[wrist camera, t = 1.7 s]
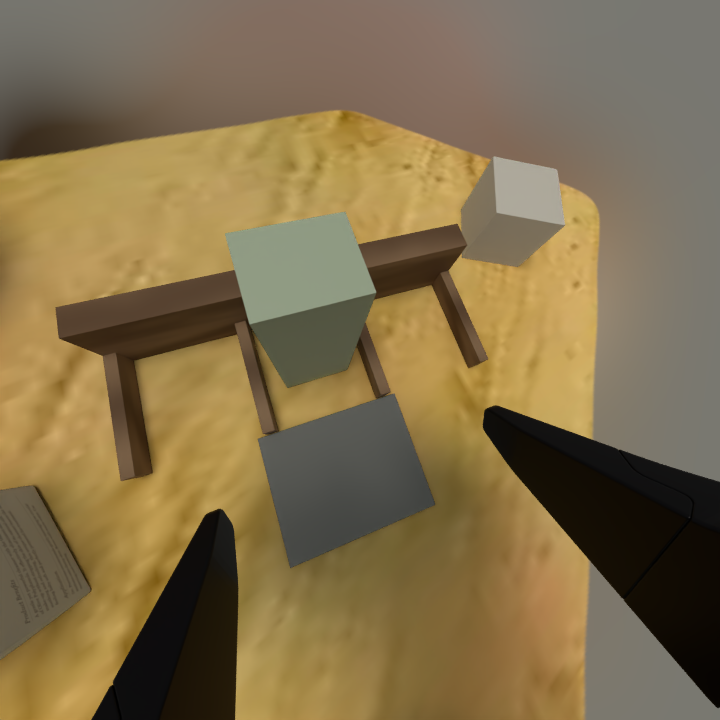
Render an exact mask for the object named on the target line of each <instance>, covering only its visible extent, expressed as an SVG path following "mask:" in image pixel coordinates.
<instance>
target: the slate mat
mask: <svg viewBox="0 0 720 720" xmlns="http://www.w3.org/2000/svg"><path fill="white" fill-rule="evenodd" d="M258 442H259V446H260V450H261V454H262V458H263V462H264V465H265V469H266V473H267V477H268V481H269V485H270V489H271V493H272V497H273V501H274V505H275V509H276V513H277V517H278V521H279V525H280V529H281V533H282V537H283V541H284V545H285V549H286V553H287V557H288V561H289V565H290V568H292V567H294V566H296V565H298V564H301V563H303V562H305V561H308V560H310V559H312V558H314V557H317V556H319V555H321V554H324V553H326V552H328V551H330V550H333V549H335V548H337V547H340V546H342V545H344V544H346V543H349V542H351V541H353V540H356V539H358V538H360V537H362V536H365V535H367V534H369V533H372V532H374V531H376V530H378V529H381V528H383V527H385V526H388V525H390V524H392V523H394V522H397V521H399V520H401V519H404V518H406V517H408V516H410V515H413V514H415V513H417V512H420V511H422V510H424V509H426V508H429V507H431V506H433V505H435V502H434V499H433V497H432V494H431V491H430V489H429V486H428V483H427V480H426V478H425V475H424V472H423V470H422V467H421V464H420V462H419V459H418V456H417V453H416V451H415V448H414V445H413V443H412V440H411V437H410V434H409V432H408V429H407V426H406V424H405V421H404V418H403V415H402V413H401V410H400V407H399V405H398V402H397V399H396V397H395V394H391V395H388V396H385V397H382V398H379V399H376V400H373V401H370V402H367V403H364V404H361V405H358V406H355V407H352V408H349V409H346V410H343V411H340V412H337V413H334V414H331V415H328V416H325V417H322V418H319V419H316V420H313V421H310V422H307V423H304V424H301V425H298V426H295V427H292V428H289V429H286V430H283V431H280V432H277V433H274V434H271V435H268V436H265V437H262V438H259V439H258Z"/></svg>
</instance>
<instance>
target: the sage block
mask: <svg viewBox="0 0 720 720" xmlns="http://www.w3.org/2000/svg"><path fill="white" fill-rule="evenodd" d="M225 236H226V239H227V243H228V247H229V250H230V254H231V258H232V261H233V265H234V269H235V273H236V276H237V280H238V284H239V287H240V291H241V295H242V299H243V302H244V306H245V310H246V313H247V317H248V321H249V324H250V326H251V328H252V329H253V331H254V333H255V334H256V336H257V338H258V339H259V341H260V343H261V345H262V346H263V348H264V350H265V351H266V353H267V355H268V356H269V358H270V360H271V361H272V363H273V365H274V366H275V368H276V370H277V371H278V373H279V375H280V376H281V378H282V380H283V381H284V383H285V385H286V386H287V388H289V387H292V386H296V385H299V384H302V383H306V382H309V381H312V380H315V379H319V378H322V377H325V376H329V375H332V374H335V373H338V372H342V371H345V370H347V369H348V366H349V364H350V361H351V358H352V356H353V353H354V350H355V348H356V345H357V342H358V340H359V337H360V335H361V332H362V329H363V327H364V324H365V321H366V319H367V316H368V314H369V311H370V308H371V306H372V303H373V300H374V298H375V295H376V290H375V288H374V285H373V282H372V280H371V277H370V275H369V272H368V269H367V267H366V264H365V262H364V259H363V257H362V254H361V251H360V249H359V246H358V244H357V241H356V238H355V236H354V233H353V231H352V228H351V225H350V223H349V220H348V218H347V215H346V212H341V213H335V214H330V215H324V216H319V217H313V218H308V219H302V220H297V221H291V222H286V223H280V224H275V225H269V226H264V227H258V228H253V229H247V230H242V231H236V232H231V233H225Z"/></svg>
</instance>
